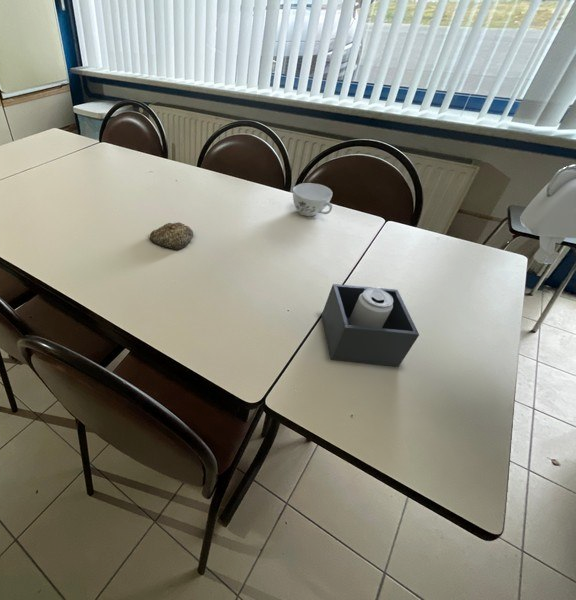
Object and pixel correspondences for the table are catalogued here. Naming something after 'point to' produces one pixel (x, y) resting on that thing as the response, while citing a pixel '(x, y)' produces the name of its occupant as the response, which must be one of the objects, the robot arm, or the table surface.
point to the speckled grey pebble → (172, 235)
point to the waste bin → (366, 329)
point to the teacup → (312, 198)
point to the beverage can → (371, 308)
